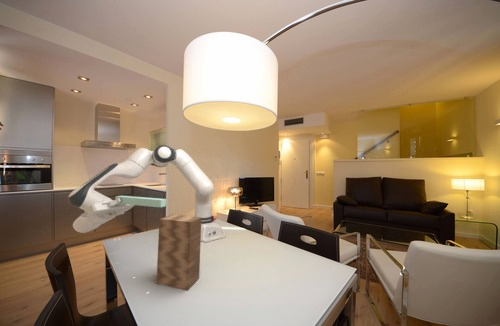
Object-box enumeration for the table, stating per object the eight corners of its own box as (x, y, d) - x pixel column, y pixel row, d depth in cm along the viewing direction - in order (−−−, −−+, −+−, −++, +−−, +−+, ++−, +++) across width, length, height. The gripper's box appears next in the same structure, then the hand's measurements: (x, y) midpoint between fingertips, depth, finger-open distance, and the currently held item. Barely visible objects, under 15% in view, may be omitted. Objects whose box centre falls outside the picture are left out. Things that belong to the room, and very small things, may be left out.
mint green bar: (115, 203, 83) (115, 196, 83) (121, 202, 86) (121, 195, 86) (160, 207, 77) (161, 200, 77) (165, 206, 80) (166, 199, 80)
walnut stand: (156, 283, 73) (159, 218, 74) (170, 273, 80) (172, 214, 81) (188, 290, 69) (190, 222, 70) (199, 278, 77) (201, 217, 78)
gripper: (75, 210, 77) (98, 195, 74) (121, 202, 96) (140, 190, 94) (80, 224, 75) (104, 209, 73) (125, 213, 95) (145, 202, 93)
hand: (125, 198), depth 83 cm, fingers closed on mint green bar, 3 cm apart
